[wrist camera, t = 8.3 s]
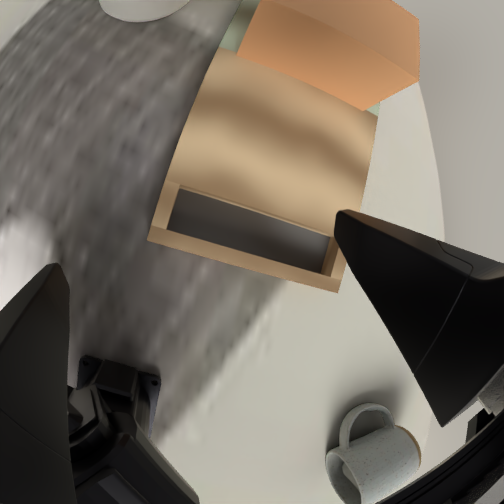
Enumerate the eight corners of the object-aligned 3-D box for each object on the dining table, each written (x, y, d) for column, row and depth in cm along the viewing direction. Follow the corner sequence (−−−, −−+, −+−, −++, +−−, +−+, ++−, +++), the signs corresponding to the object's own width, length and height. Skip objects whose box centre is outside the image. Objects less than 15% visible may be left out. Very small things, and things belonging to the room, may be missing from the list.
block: (362, 111, 22) (419, 80, 15) (235, 55, 19) (261, -3, 12) (371, 53, 22) (418, 19, 15) (261, 1, 19) (288, -52, 12)
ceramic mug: (385, 452, 28) (422, 485, 21) (326, 481, 26) (357, 523, 19) (389, 386, 27) (437, 416, 20) (320, 417, 25) (361, 462, 18)
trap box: (325, 288, 24) (337, 293, 22) (149, 239, 21) (146, 240, 19) (378, 31, 24) (388, 22, 22) (258, -25, 21) (264, -37, 19)
